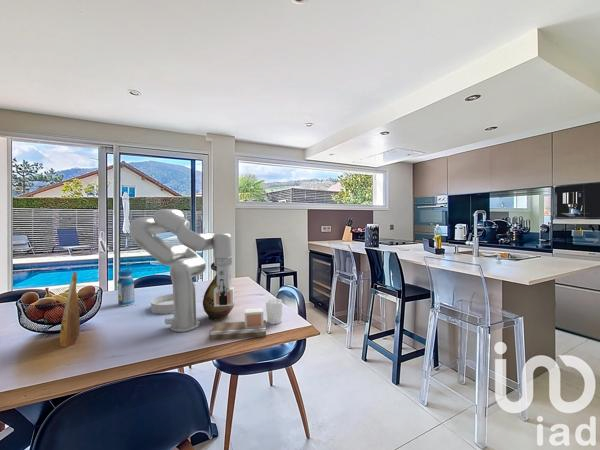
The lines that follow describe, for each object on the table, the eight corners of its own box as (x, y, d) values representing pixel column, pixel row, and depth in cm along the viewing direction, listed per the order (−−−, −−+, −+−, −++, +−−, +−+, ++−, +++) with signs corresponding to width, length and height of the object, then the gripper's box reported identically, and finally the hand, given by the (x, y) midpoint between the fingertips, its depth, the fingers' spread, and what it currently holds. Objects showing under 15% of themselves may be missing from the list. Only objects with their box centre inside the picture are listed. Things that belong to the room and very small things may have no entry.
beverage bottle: (129, 306, 165) (127, 271, 164) (114, 306, 165) (113, 271, 164) (137, 301, 173) (136, 268, 173) (124, 301, 174) (122, 268, 173)
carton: (244, 328, 125) (244, 313, 125) (245, 324, 131) (245, 309, 130) (263, 327, 126) (263, 312, 126) (263, 323, 132) (263, 308, 131)
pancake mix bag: (85, 330, 132) (82, 269, 130) (78, 346, 115) (75, 277, 114) (66, 333, 128) (63, 271, 127) (57, 351, 112) (53, 279, 111)
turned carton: (214, 306, 123) (213, 290, 123) (216, 303, 129) (215, 287, 128) (233, 305, 124) (232, 289, 124) (234, 301, 130) (233, 286, 129)
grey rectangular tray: (209, 340, 119) (209, 332, 119) (215, 327, 132) (215, 320, 132) (265, 336, 122) (265, 329, 122) (265, 324, 135) (265, 317, 135)
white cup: (284, 319, 141) (284, 299, 141) (279, 325, 134) (279, 304, 133) (269, 318, 144) (269, 298, 143) (263, 323, 136) (263, 303, 135)
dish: (200, 301, 173) (200, 293, 172) (181, 314, 151) (181, 305, 150) (165, 301, 175) (164, 293, 175) (141, 314, 153) (141, 304, 153)
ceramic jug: (226, 324, 136) (225, 261, 135) (197, 322, 140) (195, 260, 138) (241, 311, 153) (239, 255, 152) (214, 310, 156) (212, 255, 155)
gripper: (229, 264, 118) (230, 308, 118) (233, 258, 135) (235, 296, 135) (210, 265, 117) (211, 309, 118) (217, 258, 134) (218, 297, 135)
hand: (224, 302), depth 126 cm, fingers closed on turned carton, 5 cm apart
